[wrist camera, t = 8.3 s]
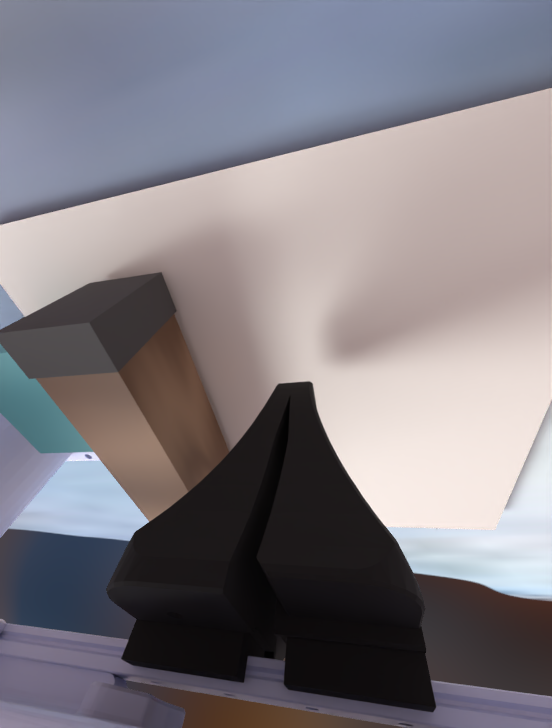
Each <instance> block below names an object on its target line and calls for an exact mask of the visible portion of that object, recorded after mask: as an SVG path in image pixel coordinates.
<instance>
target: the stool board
mask: <svg viewBox="0 0 552 728" xmlns="http://www.w3.org/2000/svg"><path fill="white" fill-rule="evenodd" d="M159 272H162V275H163V277H164V280H165V282H166V285H167V287H168V290H169V292H170V295H171V298H172V300H173V303H174V305H175V308H176V310H177V311H176V312H175V314H174V315H175V317H176V320H177V322H178V325H179V327H180V330H181V332H182V335H183V337H184V340H185V342H186V345H187V347H188V350H189V352H190V355H191V357H192V360H193V362H194V365H195V367H196V370H197V372H198V375H199V377H200V380H201V382H202V385H203V387H204V390H205V392H206V395H207V397H208V400H209V402H210V405H211V407H212V410H213V412H214V415H215V417H216V420H217V422H218V425H219V427H220V430H221V432H222V435H223V437H224V440H225V442H226V445H227V447H228V450H229V452H230V451H231V450H232V449H233V447H234V446H235V445H236V444H237V443H238V441H239V440H240V439H241V438H242V436H243V435H244V434H245V432H246V431H247V430H248V429H249V427H250V426H251V425H252V423H253V422H254V420H255V419H256V417H257V416H258V414H259V413H260V412H261V410H262V409H263V407H264V406H265V404H266V402H267V401H268V399H269V398H270V396H271V394H272V393H273V391H274V389H275V387H276V386H277V385H278V384H279V383H292V382H305V381H310V382H311V383H313V388H314V394H315V400H316V406H317V411H318V414H319V417H320V419H321V422H322V424H323V427H324V429H325V431H326V434H327V436H328V438H329V440H330V442H331V444H332V446H333V448H334V450H335V452H336V454H337V456H338V458H339V459H340V461H341V463H342V465H343V466H344V468H345V470H346V471H347V473H348V475H349V476H350V478H351V479H352V481H353V482H354V484H355V485H356V487H357V488H358V490H359V491H360V493H361V494H362V496H363V497H364V499H365V500H366V501H367V503H368V504H369V506H370V507H371V508H372V510H373V511H374V512H375V514H376V515H377V516H378V518H379V519H380V520H381V522H382V523H383V524H384V525H385V527H411V528H446V529H481V530H495V529H496V527H497V524H498V522H499V520H500V517H501V515H502V513H503V510H504V508H505V506H506V504H507V501H508V499H509V497H510V494H511V492H512V490H513V488H514V485H515V483H516V481H517V478H518V476H519V474H520V471H521V469H522V467H523V465H524V462H525V460H526V458H527V455H528V453H529V451H530V449H531V446H532V444H533V442H534V439H535V437H536V435H537V433H538V430H539V428H540V426H541V423H542V421H543V419H544V416H545V414H546V412H547V410H548V407H549V405H550V403H551V400H552V88H549V89H545V90H541V91H537V92H533V93H529V94H525V95H521V96H517V97H513V98H509V99H505V100H501V101H497V102H493V103H489V104H485V105H481V106H477V107H473V108H468V109H464V110H460V111H456V112H452V113H448V114H444V115H440V116H436V117H432V118H428V119H424V120H420V121H416V122H412V123H408V124H404V125H400V126H396V127H392V128H388V129H384V130H380V131H376V132H372V133H368V134H364V135H360V136H356V137H352V138H348V139H344V140H340V141H336V142H332V143H328V144H324V145H320V146H316V147H312V148H308V149H304V150H300V151H296V152H292V153H288V154H284V155H280V156H276V157H272V158H267V159H263V160H259V161H255V162H251V163H247V164H243V165H239V166H235V167H231V168H227V169H223V170H219V171H215V172H211V173H207V174H203V175H199V176H195V177H191V178H187V179H183V180H179V181H175V182H171V183H167V184H163V185H159V186H155V187H151V188H147V189H143V190H139V191H135V192H131V193H127V194H123V195H119V196H115V197H111V198H107V199H103V200H99V201H95V202H91V203H87V204H83V205H79V206H75V207H71V208H66V209H62V210H58V211H54V212H50V213H46V214H42V215H38V216H34V217H30V218H26V219H22V220H18V221H14V222H10V223H6V224H2V225H0V284H1V285H2V287H3V288H4V290H5V291H6V292H7V294H8V295H9V296H10V298H11V299H12V300H13V302H14V303H15V304H16V306H17V307H18V309H19V310H20V311H21V313H22V314H23V315H24V317H26V316H28V315H30V314H31V313H33V312H35V311H37V310H39V309H41V308H43V307H45V306H47V305H49V304H51V303H52V302H54V301H56V300H58V299H60V298H62V297H64V296H66V295H68V294H70V293H71V292H73V291H75V290H77V289H79V288H81V287H83V286H85V285H87V284H89V283H93V282H99V281H106V280H113V279H119V278H126V277H133V276H139V275H146V274H153V273H159ZM0 413H1V414H2V415H3V416H4V417H5V418H6V419H7V420H8V421H9V422H10V423H11V424H12V425H13V426H14V427H15V428H16V429H17V430H18V431H19V432H20V433H21V434H22V435H23V436H24V437H25V438H26V439H27V440H28V441H29V442H30V443H31V445H32V446H33V447H34V448H35V449H36V450H37V451H38V452H39V453H73V452H94V451H93V450H92V449H91V448H90V446H89V445H88V444H87V443H86V441H85V440H84V439H83V438H82V436H81V435H80V434H79V433H78V431H77V430H76V429H75V428H74V426H73V425H72V424H71V422H70V421H69V420H68V419H67V417H66V416H65V415H64V414H63V412H62V411H61V410H60V409H59V407H58V406H57V405H56V404H55V402H54V401H53V400H52V399H51V397H50V396H49V395H48V394H47V392H46V391H45V390H44V389H43V387H42V386H41V385H40V384H39V382H38V381H37V380H36V378H35V379H29V378H28V377H27V376H26V375H25V373H24V372H23V371H22V370H21V369H20V367H19V366H18V365H17V364H16V362H15V361H14V360H13V359H12V357H11V356H10V355H9V354H8V353H7V351H6V350H5V349H4V348H3V346H2V345H1V344H0Z"/></svg>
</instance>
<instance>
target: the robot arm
mask: <svg viewBox="0 0 552 728" xmlns="http://www.w3.org/2000/svg"><path fill="white" fill-rule="evenodd" d="M95 460H100V459H99V458H98V456H97V455H96V454H95V453H94V452H73V453H39V452H38V451H37V450H36V449H35V448H34V447H33V446H32V445H31V443H30V442H29V441H28V440H27V439H26V438H25V437H24V436H23V435H22V434H21V433H20V432H19V431H18V430H17V429H16V428H15V427H14V426H13V425H12V424H11V423H10V422H9V421H8V420H7V419H6V418H5V417H4V416H3V415H2V414H1V413H0V537H1V536H2V535H3V534H4V533H5V531H6V530H7V529H8V528H9V527H10V526H11V524H12V523H13V522H14V521H15V520H16V519H17V517H18V516H19V515H20V514H21V513H22V512H23V510H24V509H25V508H26V507H27V506H28V504H29V503H30V502H31V501H32V500H33V499H34V497H35V496H36V495H37V494H38V493H39V492H40V490H41V489H42V488H43V487H44V486H45V485H46V483H47V482H48V481H49V480H50V479H51V477H52V476H53V475H54V474H55V473H56V472H57V470H58V469H59V468H60V467H61V466H62V465H63V463H64V462H65V461H95ZM106 591H107V594H108V596H109V598H110V599H111V600H112V601H113V602H114V603H115V604H117V605H118V606H119V607H121V608H122V609H124V610H125V611H126V612H128V613H129V614H130V615H132V616H133V617H135V618H136V619H137V620H136V623H135V625H134V628H133V630H132V633H131V635H130V638H129V640H126V639H120V638H112V637H105V636H97V635H90V634H82V633H75V632H67V631H60V630H53V629H45V628H37V627H30V626H22V625H16V624H8V623H6V622H5V621H4V620H2V619H0V728H182V724H183V720H184V716H185V711H184V708H180V707H178V706H175V705H172V704H169V703H166V702H164V701H162V700H160V699H157V698H156V697H154V696H153V695H151V694H149V693H145V692H140V691H137V690H132V689H128V688H127V683H126V681H125V680H129V681H135V682H141V683H147V684H153V685H158V686H164V687H171V688H177V689H182V690H188V691H194V692H200V693H206V694H211V695H218V696H223V697H229V698H235V699H242V700H247V701H253V702H259V703H265V704H271V705H276V706H282V707H288V708H294V709H300V710H306V711H312V712H318V713H324V714H329V715H335V716H341V717H347V718H353V719H359V720H365V721H371V722H377V723H383V724H388V725H395V726H400V727H406V728H552V697H550V696H543V695H535V694H528V693H521V692H513V691H506V690H498V689H491V688H483V687H476V686H469V685H461V684H454V683H446V682H438V681H431V679H430V675H429V670H428V665H427V661H426V656H425V653H426V647H425V642H424V637H423V632H422V628H421V623H422V619H423V615H424V611H425V606H424V600H423V597H422V594H421V591H420V588H419V586H418V583H417V581H416V579H415V576H414V574H413V572H412V570H411V568H410V566H409V564H408V562H407V560H406V558H405V556H404V554H403V552H402V550H401V548H400V546H399V544H398V542H397V541H396V539H395V538H394V537H393V535H392V534H391V533H390V532H389V530H388V529H387V528H386V527H385V525H384V524H383V523H382V522H381V520H380V519H379V518H378V516H377V515H376V514H375V512H374V511H373V510H372V508H371V507H370V506H369V504H368V503H367V501H366V500H365V499H364V497H363V496H362V494H361V493H360V491H359V490H358V488H357V487H356V485H355V484H354V482H353V481H352V479H351V478H350V476H349V475H348V473H347V471H346V470H345V468H344V466H343V465H342V463H341V461H340V459H339V458H338V456H337V454H336V452H335V450H334V448H333V446H332V444H331V442H330V440H329V438H328V436H327V434H326V431H325V429H324V427H323V424H322V422H321V419H320V417H319V414H318V411H317V406H316V400H315V394H314V388H313V383H311V382H310V381H305V382H292V383H279V384H278V385H277V386H276V387H275V389H274V391H273V393H272V394H271V396H270V398H269V399H268V401H267V402H266V404H265V406H264V407H263V409H262V410H261V412H260V413H259V414H258V416H257V417H256V419H255V420H254V422H253V423H252V425H251V426H250V427H249V429H248V430H247V431H246V432H245V434H244V435H243V436H242V438H241V439H240V440H239V441H238V443H237V444H236V445H235V446H234V447H233V449H232V450H231V451H230V452H229V453H228V454H227V455H226V456H225V458H224V459H223V460H222V461H221V462H220V463H219V464H218V465H217V466H216V467H215V468H214V469H213V470H212V471H211V472H210V473H209V474H208V475H207V476H206V477H205V478H204V479H203V480H201V481H200V482H199V483H198V484H197V485H196V486H195V487H194V488H192V489H191V490H190V491H189V492H188V493H187V494H185V495H184V496H183V497H182V498H181V499H179V500H178V501H177V502H176V503H174V504H173V505H172V506H170V507H169V508H168V509H167V510H165V511H164V512H162V513H161V514H160V515H158V516H157V517H156V518H154V519H153V520H151V521H150V522H149V523H147V524H146V525H145V526H143V527H142V528H140V529H139V530H137V531H136V532H135V533H134V535H133V537H132V538H131V540H130V542H129V544H128V546H127V547H126V549H125V552H124V554H123V555H122V558H121V560H120V562H119V564H118V566H117V568H116V570H115V572H114V574H113V576H112V578H111V580H110V582H109V584H108V586H107V588H106ZM284 658H285V661H283V659H284Z"/></svg>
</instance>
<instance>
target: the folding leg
mask: <svg viewBox="0 0 552 728" xmlns="http://www.w3.org/2000/svg"><path fill="white" fill-rule="evenodd" d="M176 311H177V310H176V308H175V305H174V303H173V300H172V298H171V295H170V292H169V290H168V287H167V285H166V282H165V280H164V277H163V275H162V272H159V273H153V274H146V275H139V276H133V277H126V278H119V279H113V280H106V281H99V282H93V283H89V284H87V285H85V286H83V287H81V288H79V289H77V290H75V291H73V292H71V293H70V294H68V295H66V296H64V297H62V298H60V299H58V300H56V301H54V302H52V303H51V304H49V305H47V306H45V307H43V308H41V309H39V310H37V311H35V312H33V313H31V314H30V315H28V316H26V317H24V318H22V319H20V320H18V321H16V322H14V323H12V324H11V325H9V326H7V327H5V328H3V329H1V330H0V344H1V345H2V346H3V348H4V349H5V350H6V351H7V353H8V354H9V355H10V356H11V357H12V359H13V360H14V361H15V362H16V364H17V365H18V366H19V367H20V369H21V370H22V371H23V372H24V373H25V375H26V376H27V377H28V378H29V379H35V378H36V380H37V381H38V382H39V384H40V385H41V386H42V387H43V389H44V390H45V391H46V392H47V394H48V395H49V396H50V397H51V399H52V400H53V401H54V402H55V404H56V405H57V406H58V407H59V409H60V410H61V411H62V412H63V414H64V415H65V416H66V417H67V419H68V420H69V421H70V422H71V424H72V425H73V426H74V428H75V429H76V430H77V431H78V433H79V434H80V435H81V436H82V438H83V439H84V440H85V441H86V443H87V444H88V445H89V446H90V448H91V449H92V450H93V451H94V453H95V454H96V455H97V456H98V458H99V459H100V460H101V461H102V463H103V464H104V465H105V466H106V468H107V469H108V470H109V471H110V473H111V474H112V475H113V477H114V478H115V479H116V480H117V482H118V483H119V484H120V485H121V487H122V488H123V489H124V490H125V492H126V493H127V494H128V495H129V497H130V498H131V499H132V500H133V502H134V503H135V504H136V505H137V507H138V508H139V509H140V510H141V512H142V513H143V514H144V515H145V517H146V518H147V519H148V521H149V522H150V521H151V520H153V519H154V518H156V517H157V516H158V515H160V514H161V513H162V512H164V511H165V510H167V509H168V508H169V507H170V506H172V505H173V504H174V503H176V502H177V501H178V500H179V499H181V498H182V497H183V496H184V495H185V494H187V493H188V492H189V491H190V490H191V489H192V488H194V487H195V486H196V485H197V484H198V483H199V482H200V481H201V480H203V479H204V478H205V477H206V476H207V475H208V474H209V473H210V472H211V471H212V470H213V469H214V468H215V467H216V466H217V465H218V464H219V463H220V462H221V461H222V460H223V459H224V458H225V456H226V455H227V454H228V453H229V450H228V447H227V445H226V442H225V440H224V437H223V435H222V432H221V430H220V427H219V425H218V422H217V420H216V417H215V415H214V412H213V410H212V407H211V405H210V402H209V400H208V397H207V395H206V392H205V390H204V387H203V385H202V382H201V380H200V377H199V375H198V372H197V370H196V367H195V365H194V362H193V360H192V357H191V355H190V352H189V350H188V347H187V345H186V342H185V340H184V337H183V335H182V332H181V330H180V327H179V325H178V322H177V320H176V317H175V315H174V314H175V312H176Z"/></svg>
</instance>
